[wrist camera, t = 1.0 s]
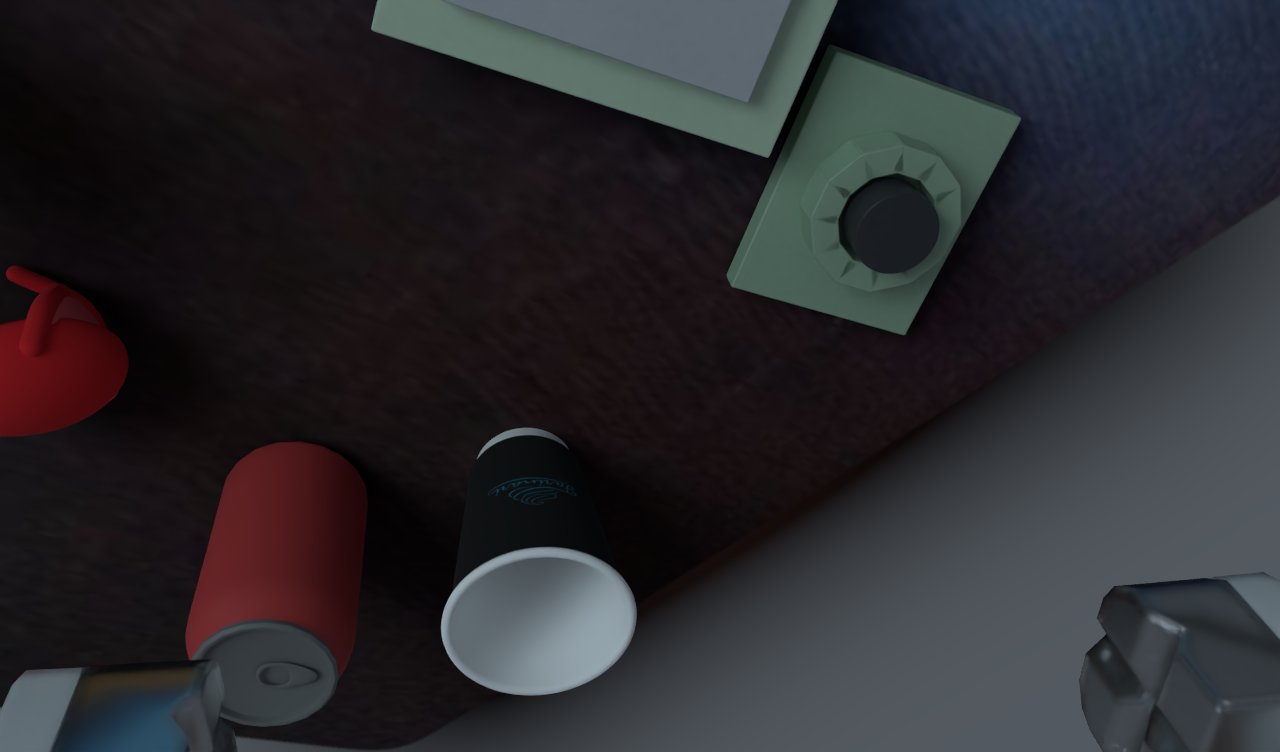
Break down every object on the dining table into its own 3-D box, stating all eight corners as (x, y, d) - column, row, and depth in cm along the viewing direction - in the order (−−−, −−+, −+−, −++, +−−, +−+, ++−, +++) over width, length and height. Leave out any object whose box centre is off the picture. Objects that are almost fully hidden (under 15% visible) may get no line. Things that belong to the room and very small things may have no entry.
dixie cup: (504, 557, 58) (515, 724, 49) (407, 455, 54) (400, 616, 45) (635, 480, 57) (672, 637, 48) (546, 370, 53) (568, 518, 44)
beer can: (364, 548, 57) (347, 738, 47) (224, 541, 55) (175, 736, 45) (373, 438, 54) (356, 617, 44) (225, 428, 52) (172, 611, 42)
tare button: (865, 167, 47) (879, 183, 46) (939, 191, 48) (955, 207, 47) (828, 243, 49) (840, 261, 47) (901, 265, 50) (915, 283, 48)
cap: (133, 263, 48) (96, 334, 42) (146, 386, 51) (113, 466, 45) (-80, 253, 46) (-144, 325, 41) (-53, 380, 49) (-110, 462, 44)
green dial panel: (828, 43, 47) (850, 64, 44) (1010, 109, 50) (1041, 132, 47) (725, 275, 52) (739, 306, 49) (896, 323, 54) (918, 355, 52)
